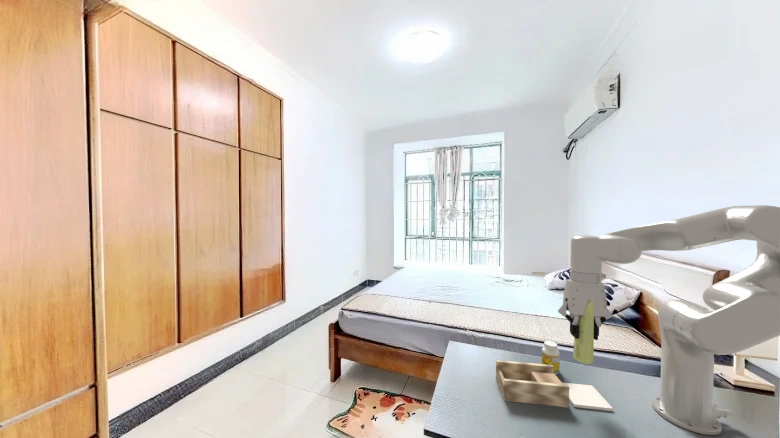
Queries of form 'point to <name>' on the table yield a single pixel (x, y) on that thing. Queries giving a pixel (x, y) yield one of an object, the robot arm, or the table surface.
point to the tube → (585, 337)
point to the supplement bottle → (551, 356)
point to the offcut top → (545, 377)
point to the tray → (529, 384)
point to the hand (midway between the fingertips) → (584, 336)
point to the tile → (586, 397)
